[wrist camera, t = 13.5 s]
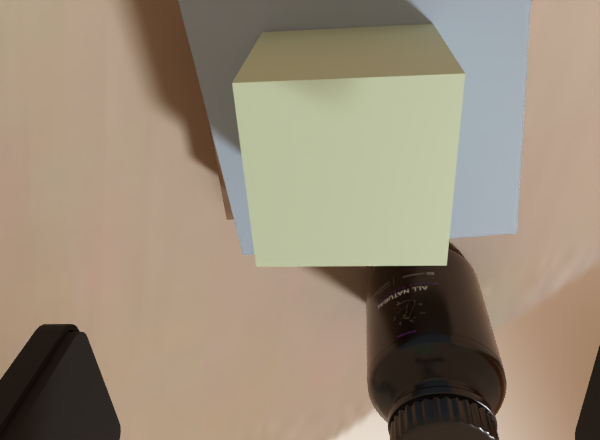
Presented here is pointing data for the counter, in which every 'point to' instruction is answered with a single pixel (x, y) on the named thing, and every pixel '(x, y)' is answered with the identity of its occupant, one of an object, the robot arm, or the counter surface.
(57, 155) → the counter surface
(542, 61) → the counter surface
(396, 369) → the supplement bottle
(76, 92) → the counter surface
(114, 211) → the counter surface
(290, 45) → the sage block
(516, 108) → the slate top block
